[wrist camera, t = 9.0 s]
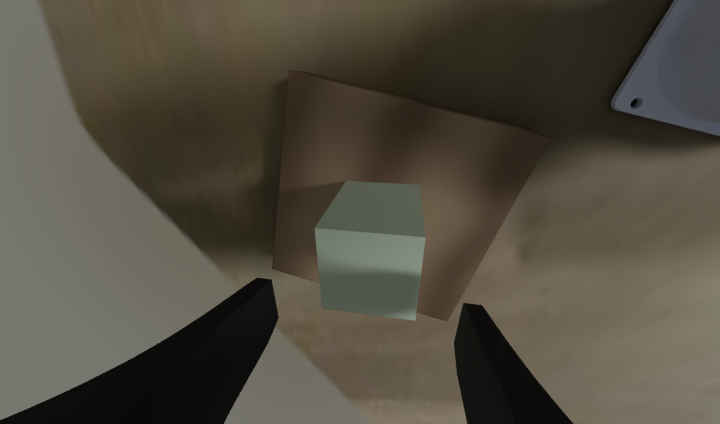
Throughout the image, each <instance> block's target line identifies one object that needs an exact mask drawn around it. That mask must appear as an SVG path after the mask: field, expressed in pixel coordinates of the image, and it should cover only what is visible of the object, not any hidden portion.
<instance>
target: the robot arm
mask: <svg viewBox="0 0 720 424" xmlns="http://www.w3.org/2000/svg"><path fill="white" fill-rule="evenodd" d="M634 99H637V103H636V105H635V106H634V107H631V106H630V104H631V102H632V101H633V100H634ZM611 107H612V108H613V109H614V110H617V111H621V112H625V113H629V114H633V115H637V116H641V117H645V118H649V119H653V120H657V121H661V122H665V123H669V124H673V125H677V126H681V127H685V128H689V129H693V130H697V131H701V132H705V133H709V134H713V135H717V136H720V0H674V1H673V3H672V4H671V6H670V7H669V9H668V11H667V12H666V14H665V15H664V17H663V19H662V20H661V22H660V23H659V25H658V27H657V28H656V30H655V31H654V33H653V35H652V36H651V38H650V39H649V41H648V42H647V44H646V46H645V47H644V49H643V50H642V52H641V54H640V55H639V57H638V58H637V60H636V62H635V63H634V65H633V66H632V68H631V70H630V71H629V73H628V74H627V76H626V78H625V79H624V81H623V82H622V84H621V86H620V87H619V89H618V90H617V92H616V93H615V95H614V97H613V98H612V101H611ZM278 318H279V317H278V312H277V306H276V301H275V296H274V291H273V285H272V280H271V279H263V278H256V279H255V280H253V281H251V282H250V283H249V284H247V285H246V286H244V287H243V288H241V289H240V290H239V291H237V292H236V293H235V294H233V295H232V296H230V297H229V298H227V299H226V300H224V301H223V302H222V303H220V304H219V305H217V306H216V307H215V308H213V309H211V310H210V311H209V312H207V313H206V314H204V315H203V316H201V317H200V318H198V319H197V320H195V321H193V322H192V323H190V324H189V325H187V326H186V327H184V328H183V329H181V330H179V331H178V332H176V333H175V334H173V335H172V336H170V337H168V338H167V339H165V340H164V341H162V342H160V343H158V344H157V345H155V346H153V347H152V348H150V349H148V350H146V351H144V352H143V353H141V354H139V355H137V356H136V357H134V358H132V359H130V360H128V361H127V362H125V363H123V364H121V365H119V366H117V367H115V368H113V369H111V370H109V371H107V372H105V373H103V374H101V375H99V376H97V377H95V378H93V379H91V380H89V381H87V382H85V383H83V384H81V385H79V386H77V387H75V388H73V389H71V390H69V391H66V392H64V393H62V394H60V395H57V396H55V397H53V398H51V399H49V400H47V401H44V402H42V403H40V404H37V405H35V406H33V407H31V408H28V409H26V410H24V411H22V412H19V413H17V414H14V415H12V416H10V417H7V418H5V419H2V420H0V424H224V422H225V420H226V418H227V416H228V414H229V412H230V410H231V408H232V407H233V404H234V403H235V401H236V399H237V397H238V396H239V394H240V392H241V390H242V389H243V387H244V385H245V383H246V381H247V379H248V378H249V376H250V374H251V373H252V371H253V369H254V367H255V366H256V364H257V362H258V360H259V358H260V356H261V355H262V353H263V351H264V349H265V347H266V346H267V344H268V341H269V339H270V337H271V335H272V333H273V330H274V328H275V325H276V323H277V320H278ZM454 348H455V358H456V368H457V376H458V381H459V386H460V390H461V395H462V400H463V405H464V410H465V414H466V419H467V424H573V423H572V421H571V420H570V419H569V418H568V417H567V416H566V415H565V413H564V412H563V411H562V410H561V409H560V408H559V406H558V405H557V404H556V403H555V402H554V400H553V399H552V398H551V397H550V396H549V394H548V393H547V392H546V391H545V390H544V388H543V387H542V386H541V385H540V383H539V382H538V381H537V380H536V378H535V377H534V376H533V375H532V373H531V372H530V371H529V369H528V368H527V367H526V366H525V364H524V363H523V362H522V360H521V359H520V358H519V356H518V355H517V354H516V352H515V351H514V350H513V348H512V347H511V346H510V344H509V343H508V341H507V340H506V339H505V337H504V336H503V334H502V333H501V332H500V330H499V329H498V327H497V326H496V325H495V323H494V322H493V320H492V319H491V317H490V316H489V314H488V313H487V311H486V310H485V308H484V307H483V306H482V305H476V304H467V303H463V307H462V311H461V315H460V319H459V324H458V328H457V332H456V337H455V341H454Z"/></svg>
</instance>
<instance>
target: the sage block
mask: <svg viewBox="0 0 720 424" xmlns="http://www.w3.org/2000/svg"><path fill="white" fill-rule="evenodd" d="M315 238H316V249H317V260H318V271H319V282H320V293H321V303H322V308H325V309H332V310H340V311H347V312H355V313H363V314H370V315H378V316H385V317H393V318H400V319H408V320H415V319H416V311H417V303H418V295H419V287H420V279H421V271H422V263H423V255H424V247H425V239H426V236H425V226H424V216H423V206H422V197H421V187H420V185H414V184H395V183H376V182H358V181H346V182H345V183H344V185H343V186H342V188H341V189H340V191H339V192H338V194H337V195H336V197H335V198H334V200H333V201H332V203H331V204H330V206H329V207H328V209H327V210H326V212H325V213H324V215H323V216H322V218H321V219H320V221H319V222H318V224H317V225H316V227H315Z"/></svg>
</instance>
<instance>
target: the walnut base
mask: <svg viewBox="0 0 720 424" xmlns="http://www.w3.org/2000/svg"><path fill="white" fill-rule="evenodd" d="M549 139H550V137H547V136H545V135H542V134H539V133H537V132H534V131H531V130H528V129H524V128H520V127H516V126H513V125H509V124H505V123H501V122H497V121H493V120H489V119H485V118H482V117H478V116H474V115H470V114H466V113H462V112H458V111H454V110H451V109H447V108H443V107H439V106H435V105H431V104H427V103H423V102H419V101H416V100H412V99H408V98H404V97H400V96H396V95H392V94H388V93H385V92H381V91H377V90H373V89H369V88H365V87H361V86H357V85H354V84H350V83H346V82H342V81H338V80H334V79H330V78H326V77H323V76H319V75H315V74H311V73H307V72H300V71H292V70H289V74H288V86H287V98H286V110H285V122H284V134H283V146H282V158H281V169H280V181H279V193H278V205H277V217H276V229H275V241H274V253H273V265H272V269H274V270H277V271H280V272H284V273H287V274H290V275H294V276H297V277H300V278H304V279H307V280H310V281H314V282H317V283H320V282H319V271H318V260H317V249H316V238H315V227H316V225H317V224H318V222H319V221H320V219H321V218H322V216H323V215H324V213H325V212H326V210H327V209H328V207H329V206H330V204H331V203H332V201H333V200H334V198H335V197H336V195H337V194H338V192H339V191H340V189H341V188H342V186H343V185H344V183H345V182H346V181H358V182H376V183H395V184H414V185H420V187H421V197H422V206H423V216H424V226H425V236H426V239H425V247H424V255H423V263H422V271H421V279H420V287H419V295H418V303H417V311H416V312H417V313H420V314H424V315H427V316H430V317H434V318H437V319H440V320H444V321H448V319H449V318H450V316H451V314H452V312H453V311H454V309H455V307H456V305H457V303H458V302H459V300H460V298H461V296H462V294H463V293H464V291H465V289H466V287H467V286H468V284H469V282H470V280H471V278H472V277H473V275H474V273H475V271H476V270H477V268H478V266H479V264H480V262H481V261H482V259H483V257H484V255H485V253H486V252H487V250H488V248H489V246H490V245H491V243H492V241H493V239H494V237H495V236H496V234H497V232H498V230H499V229H500V227H501V225H502V223H503V221H504V220H505V218H506V216H507V214H508V212H509V211H510V209H511V207H512V205H513V204H514V202H515V200H516V198H517V196H518V195H519V193H520V191H521V189H522V187H523V186H524V184H525V182H526V180H527V179H528V177H529V175H530V173H531V171H532V170H533V168H534V166H535V164H536V163H537V161H538V159H539V157H540V155H541V154H542V152H543V150H544V148H545V146H546V145H547V143H548V141H549Z"/></svg>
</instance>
